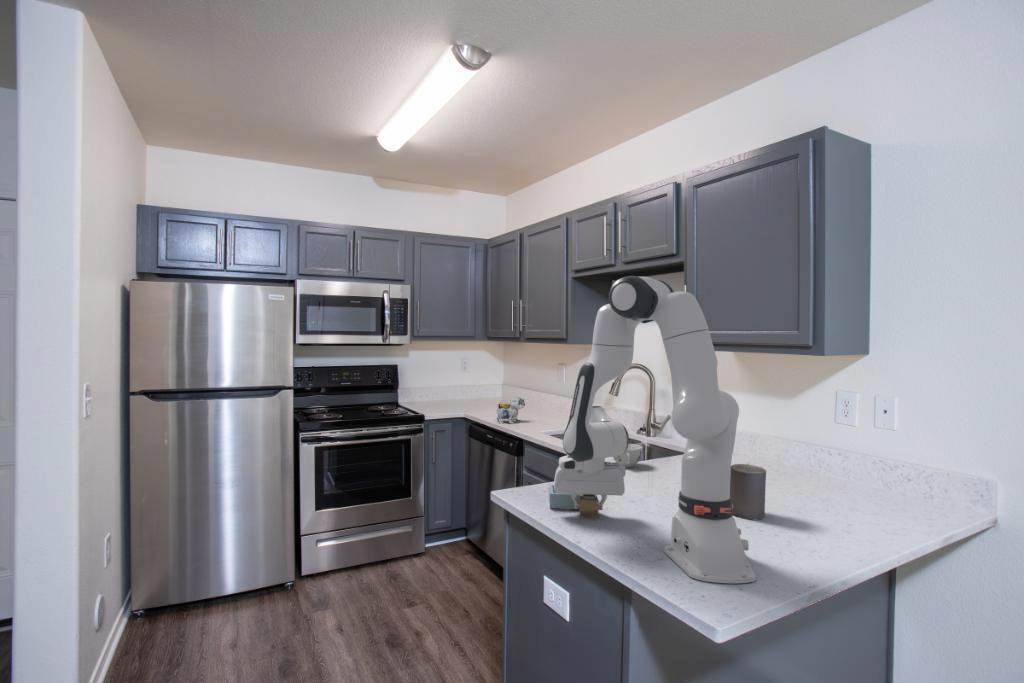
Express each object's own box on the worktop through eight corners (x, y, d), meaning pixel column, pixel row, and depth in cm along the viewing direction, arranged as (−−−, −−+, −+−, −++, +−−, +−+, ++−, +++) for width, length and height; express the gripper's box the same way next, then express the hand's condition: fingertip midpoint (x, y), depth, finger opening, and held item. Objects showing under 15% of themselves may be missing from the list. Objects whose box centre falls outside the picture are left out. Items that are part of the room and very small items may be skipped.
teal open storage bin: (590, 510, 156) (590, 491, 156) (549, 508, 156) (550, 490, 156) (585, 493, 172) (585, 477, 172) (548, 492, 172) (548, 476, 172)
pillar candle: (721, 510, 158) (723, 460, 157) (746, 507, 161) (748, 458, 161) (746, 522, 149) (748, 469, 148) (772, 518, 152) (774, 466, 152)
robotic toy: (522, 425, 301) (523, 398, 301) (493, 423, 304) (493, 397, 304) (526, 421, 314) (526, 396, 314) (497, 420, 317) (498, 395, 317)
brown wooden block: (598, 518, 149) (598, 498, 149) (580, 518, 149) (580, 497, 149) (595, 511, 155) (596, 491, 155) (578, 510, 155) (579, 491, 155)
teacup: (609, 461, 217) (609, 442, 217) (640, 462, 216) (640, 443, 215) (611, 470, 202) (612, 450, 202) (645, 472, 201) (645, 451, 200)
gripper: (623, 459, 154) (622, 506, 155) (554, 457, 155) (553, 504, 155) (627, 465, 148) (626, 514, 148) (554, 463, 149) (553, 511, 149)
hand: (588, 509), depth 152 cm, fingers closed on brown wooden block, 5 cm apart
